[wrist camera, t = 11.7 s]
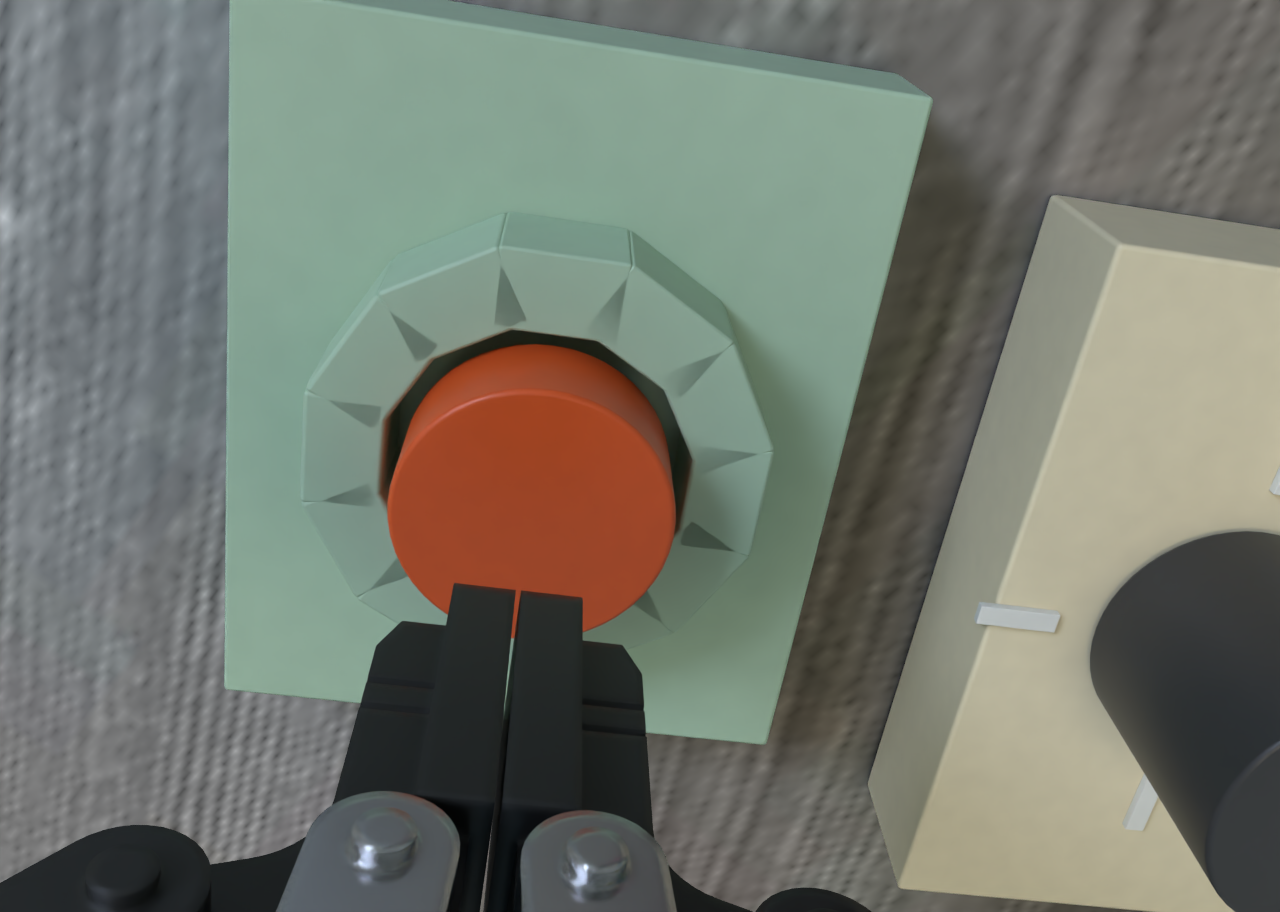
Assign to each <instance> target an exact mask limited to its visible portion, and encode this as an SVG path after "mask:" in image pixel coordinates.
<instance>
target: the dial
mask: <svg viewBox="0 0 1280 912" xmlns="http://www.w3.org/2000/svg"><path fill="white" fill-rule="evenodd" d="M1090 673H1091V678H1092V683H1093V686H1094V689H1095V691H1096V694H1097V696H1098V698H1099V699H1100V701H1101V703H1102V705H1103V706H1104V708H1105V710H1106V711H1107V713H1108V714H1109V716H1110V718H1111V719H1112V721H1113V723H1114V724H1115V726H1116V728H1117V729H1118V731H1119V733H1120V734H1121V736H1122V738H1123V739H1124V741H1125V743H1126V744H1127V746H1128V747H1129V749H1130V751H1131V752H1132V754H1133V756H1134V757H1135V759H1136V761H1137V762H1138V764H1139V766H1140V767H1141V769H1142V771H1143V772H1144V774H1145V776H1146V777H1147V779H1148V780H1149V782H1150V784H1151V785H1152V787H1153V789H1154V790H1155V792H1156V794H1157V795H1158V797H1159V799H1160V800H1161V802H1162V804H1163V805H1164V807H1165V808H1166V810H1167V812H1168V813H1169V815H1170V817H1171V818H1172V820H1173V822H1174V823H1175V825H1176V827H1177V828H1178V830H1179V832H1180V833H1181V835H1182V837H1183V838H1184V840H1185V841H1186V843H1187V845H1188V846H1189V848H1190V850H1191V851H1192V853H1193V855H1194V856H1195V858H1196V860H1197V861H1198V863H1199V865H1200V866H1201V868H1202V870H1203V871H1204V873H1205V874H1206V876H1207V878H1208V879H1209V881H1210V883H1211V884H1212V886H1213V888H1214V889H1215V891H1216V893H1217V894H1218V895H1219V897H1220V898H1221V899H1222V900H1223V901H1224V902H1225V904H1226V905H1227V906H1229V907H1230V908H1231V909H1232V910H1234V911H1235V912H1280V535H1276V534H1270V533H1265V532H1252V531H1241V532H1227V533H1222V534H1216V535H1211V536H1207V537H1203V538H1200V539H1196V540H1193V541H1191V542H1188V543H1186V544H1183V545H1181V546H1178V547H1176V548H1174V549H1172V550H1170V551H1168V552H1166V553H1164V554H1162V555H1161V556H1159V557H1158V558H1156V559H1155V560H1153V561H1151V562H1150V563H1148V564H1147V565H1146V566H1144V567H1143V568H1142V569H1141V570H1139V571H1138V572H1137V573H1136V574H1134V575H1133V576H1132V577H1131V578H1130V579H1129V580H1128V581H1127V582H1126V583H1125V584H1124V585H1123V586H1122V587H1121V588H1120V589H1119V591H1118V592H1117V593H1116V594H1115V596H1114V597H1113V598H1112V599H1111V601H1110V602H1109V604H1108V606H1107V607H1106V609H1105V610H1104V612H1103V614H1102V616H1101V618H1100V620H1099V622H1098V624H1097V627H1096V630H1095V633H1094V636H1093V640H1092V645H1091V652H1090Z"/></svg>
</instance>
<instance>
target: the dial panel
mask: <svg viewBox="0 0 1280 912" xmlns="http://www.w3.org/2000/svg"><path fill="white" fill-rule="evenodd" d="M1241 531H1252V532H1265V533H1270V534H1276V535H1280V229H1273V228H1267V227H1261V226H1254V225H1248V224H1241V223H1235V222H1228V221H1222V220H1215V219H1209V218H1202V217H1196V216H1189V215H1183V214H1176V213H1170V212H1164V211H1157V210H1151V209H1144V208H1138V207H1131V206H1125V205H1118V204H1112V203H1105V202H1099V201H1092V200H1086V199H1079V198H1073V197H1067V196H1060V195H1054V196H1052V197H1051V198H1050V200H1049V203H1048V207H1047V210H1046V213H1045V216H1044V219H1043V223H1042V226H1041V229H1040V232H1039V235H1038V239H1037V242H1036V245H1035V248H1034V251H1033V255H1032V258H1031V261H1030V264H1029V267H1028V271H1027V274H1026V277H1025V280H1024V284H1023V287H1022V290H1021V293H1020V296H1019V300H1018V303H1017V306H1016V309H1015V312H1014V316H1013V319H1012V322H1011V325H1010V328H1009V332H1008V335H1007V338H1006V341H1005V344H1004V348H1003V351H1002V354H1001V357H1000V360H999V364H998V367H997V370H996V373H995V376H994V380H993V383H992V386H991V389H990V392H989V396H988V399H987V402H986V405H985V408H984V412H983V415H982V418H981V421H980V424H979V428H978V431H977V434H976V437H975V441H974V444H973V447H972V450H971V453H970V457H969V460H968V463H967V466H966V469H965V473H964V476H963V479H962V482H961V485H960V489H959V492H958V495H957V498H956V501H955V505H954V508H953V511H952V514H951V517H950V521H949V524H948V527H947V530H946V533H945V537H944V540H943V543H942V546H941V549H940V553H939V556H938V559H937V562H936V565H935V569H934V572H933V575H932V578H931V582H930V585H929V588H928V591H927V594H926V598H925V601H924V604H923V607H922V610H921V614H920V617H919V620H918V623H917V626H916V630H915V633H914V636H913V639H912V642H911V646H910V649H909V652H908V655H907V658H906V662H905V665H904V668H903V671H902V674H901V678H900V681H899V684H898V687H897V690H896V694H895V697H894V700H893V703H892V706H891V710H890V713H889V716H888V719H887V722H886V726H885V729H884V732H883V735H882V739H881V742H880V745H879V748H878V751H877V755H876V758H875V761H874V764H873V767H872V771H871V774H870V777H869V780H868V788H869V791H870V794H871V798H872V801H873V804H874V808H875V811H876V814H877V818H878V821H879V824H880V828H881V831H882V834H883V838H884V841H885V844H886V848H887V851H888V854H889V858H890V861H891V864H892V868H893V871H894V875H895V878H896V881H897V885H898V887H899V888H901V889H909V890H919V891H930V892H941V893H952V894H963V895H974V896H985V897H996V898H1007V899H1018V900H1029V901H1040V902H1051V903H1062V904H1073V905H1084V906H1095V907H1106V908H1117V909H1128V910H1139V911H1149V912H1235V911H1234V910H1232V909H1231V908H1230V907H1229V906H1227V905H1226V904H1225V902H1224V901H1223V900H1222V899H1221V898H1220V897H1219V895H1218V894H1217V893H1216V891H1215V889H1214V888H1213V886H1212V884H1211V883H1210V881H1209V879H1208V878H1207V876H1206V874H1205V873H1204V871H1203V870H1202V868H1201V866H1200V865H1199V863H1198V861H1197V860H1196V858H1195V856H1194V855H1193V853H1192V851H1191V850H1190V848H1189V846H1188V845H1187V843H1186V841H1185V840H1184V838H1183V837H1182V835H1181V833H1180V832H1179V830H1178V828H1177V827H1176V825H1175V823H1174V822H1173V820H1172V818H1171V817H1170V815H1169V813H1168V812H1167V810H1166V808H1165V807H1164V805H1163V804H1162V802H1161V800H1160V799H1159V797H1158V795H1157V794H1156V792H1155V790H1154V789H1153V787H1152V785H1151V784H1150V782H1149V780H1148V779H1147V777H1146V776H1145V774H1144V772H1143V771H1142V769H1141V767H1140V766H1139V764H1138V762H1137V761H1136V759H1135V757H1134V756H1133V754H1132V752H1131V751H1130V749H1129V747H1128V746H1127V744H1126V743H1125V741H1124V739H1123V738H1122V736H1121V734H1120V733H1119V731H1118V729H1117V728H1116V726H1115V724H1114V723H1113V721H1112V719H1111V718H1110V716H1109V714H1108V713H1107V711H1106V710H1105V708H1104V706H1103V705H1102V703H1101V701H1100V699H1099V698H1098V696H1097V694H1096V691H1095V689H1094V686H1093V683H1092V678H1091V673H1090V652H1091V645H1092V640H1093V636H1094V633H1095V630H1096V627H1097V624H1098V622H1099V620H1100V618H1101V616H1102V614H1103V612H1104V610H1105V609H1106V607H1107V606H1108V604H1109V602H1110V601H1111V599H1112V598H1113V597H1114V596H1115V594H1116V593H1117V592H1118V591H1119V589H1120V588H1121V587H1122V586H1123V585H1124V584H1125V583H1126V582H1127V581H1128V580H1129V579H1130V578H1131V577H1132V576H1133V575H1134V574H1136V573H1137V572H1138V571H1139V570H1141V569H1142V568H1143V567H1144V566H1146V565H1147V564H1148V563H1150V562H1151V561H1153V560H1155V559H1156V558H1158V557H1159V556H1161V555H1162V554H1164V553H1166V552H1168V551H1170V550H1172V549H1174V548H1176V547H1178V546H1181V545H1183V544H1186V543H1188V542H1191V541H1193V540H1196V539H1200V538H1203V537H1207V536H1211V535H1216V534H1222V533H1227V532H1241Z"/></svg>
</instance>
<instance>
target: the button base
mask: <svg viewBox="0 0 1280 912" xmlns="http://www.w3.org/2000/svg"><path fill="white" fill-rule="evenodd" d="M932 104H933V99H932V98H931V97H930V96H928V95H927V94H926V93H924V92H923V91H921V90H920V89H918V88H917V87H915V86H914V85H913V84H911V83H910V82H908V81H907V80H905V79H904V78H902V77H901V76H900V75H898V74H896V73H890V72H883V71H877V70H871V69H865V68H859V67H853V66H847V65H841V64H834V63H828V62H822V61H816V60H810V59H804V58H798V57H792V56H785V55H779V54H773V53H767V52H761V51H755V50H749V49H743V48H736V47H730V46H724V45H718V44H712V43H706V42H700V41H693V40H687V39H681V38H675V37H669V36H663V35H657V34H651V33H644V32H638V31H632V30H626V29H620V28H614V27H608V26H602V25H595V24H589V23H583V22H577V21H571V20H565V19H559V18H553V17H546V16H540V15H534V14H528V13H522V12H516V11H510V10H504V9H497V8H491V7H485V6H479V5H473V4H467V3H461V2H455V1H448V0H230V17H229V148H228V280H227V411H226V542H225V673H224V685H225V688H226V689H227V690H235V691H245V692H255V693H264V694H274V695H284V696H294V697H303V698H313V699H323V700H333V701H342V702H352V703H361V699H362V696H363V692H364V688H365V685H366V682H367V679H368V674H369V670H370V666H371V663H372V659H373V655H374V652H375V648H376V645H377V644H378V643H379V642H380V641H381V640H382V639H383V638H384V637H386V636H387V635H388V634H389V633H390V632H391V631H392V630H393V629H394V628H395V627H396V626H397V625H398V624H399V623H400V622H401V621H409V622H418V623H427V624H437V625H446V622H447V617H448V615H447V614H446V613H444V612H443V611H441V610H440V609H439V608H437V607H436V606H435V605H434V604H432V603H431V602H430V601H429V600H428V599H427V598H426V597H425V596H424V595H423V594H422V593H421V592H420V591H419V590H418V589H417V587H416V586H415V585H414V584H413V583H412V581H411V580H410V578H409V577H408V575H407V574H406V572H405V571H404V569H403V567H402V566H401V564H400V561H399V559H398V557H397V555H396V553H395V551H394V547H393V544H392V541H391V538H390V533H389V527H388V520H387V501H388V495H389V488H390V484H391V481H392V478H393V474H394V471H395V468H396V465H397V462H398V459H399V456H400V453H401V450H402V446H403V443H404V440H405V437H406V434H407V431H408V428H409V425H410V422H411V419H412V417H413V415H414V413H415V411H416V409H417V407H418V406H419V404H420V403H421V401H422V400H423V398H424V397H425V395H426V394H427V392H428V391H429V390H430V389H431V388H432V387H433V386H434V385H435V384H436V383H437V382H438V381H439V380H440V379H441V378H442V377H443V376H445V375H446V374H447V373H448V372H449V371H451V370H452V369H454V368H455V367H457V366H458V365H460V364H462V363H463V362H465V361H467V360H469V359H471V358H473V357H475V356H478V355H480V354H482V353H485V352H488V351H492V350H495V349H498V348H503V347H509V346H514V345H527V344H541V345H554V346H559V347H564V348H569V349H573V350H576V351H579V352H582V353H585V354H588V355H591V356H593V357H595V358H597V359H599V360H601V361H603V362H605V363H607V364H609V365H610V366H612V367H613V368H615V369H616V370H618V371H619V372H621V373H622V374H623V375H624V376H626V377H627V378H628V379H629V380H630V381H631V382H633V383H634V384H635V385H636V387H637V388H638V389H639V390H640V391H641V392H642V393H643V394H644V395H645V397H646V398H647V400H648V401H649V403H650V404H651V405H652V407H653V408H654V410H655V412H656V414H657V416H658V418H659V420H660V422H661V424H662V427H663V430H664V433H665V436H666V440H667V446H668V451H669V458H670V466H671V473H672V481H673V489H674V496H675V504H676V525H675V533H674V539H673V542H672V546H671V550H670V553H669V555H668V558H667V560H666V562H665V564H664V567H663V569H662V570H661V572H660V573H659V575H658V577H657V578H656V580H655V581H654V583H653V584H652V585H651V586H650V588H649V589H648V590H647V591H646V592H645V594H644V595H643V596H642V597H641V598H640V599H639V600H638V601H636V602H635V603H634V604H633V605H632V606H631V607H630V608H628V609H627V610H626V611H624V612H623V613H621V614H620V615H619V616H617V617H616V618H614V619H612V620H610V621H608V622H607V623H605V624H603V625H601V626H598V627H596V628H593V629H591V630H588V631H586V632H583V641H592V642H601V643H610V644H619V645H623V646H624V648H625V649H626V651H627V652H628V654H629V655H630V657H631V658H632V660H633V661H634V663H635V664H636V666H637V667H638V669H639V670H640V672H641V673H642V680H643V694H644V711H645V723H646V733H654V734H663V735H673V736H683V737H693V738H702V739H712V740H722V741H732V742H741V743H751V744H761V745H764V744H766V743H767V740H768V736H769V732H770V728H771V724H772V721H773V717H774V713H775V709H776V705H777V701H778V697H779V694H780V690H781V686H782V682H783V678H784V674H785V670H786V667H787V663H788V659H789V655H790V651H791V647H792V643H793V640H794V636H795V632H796V628H797V624H798V620H799V616H800V613H801V609H802V605H803V601H804V597H805V593H806V590H807V586H808V582H809V578H810V574H811V570H812V566H813V563H814V559H815V555H816V551H817V547H818V543H819V539H820V536H821V532H822V528H823V524H824V520H825V516H826V512H827V509H828V505H829V501H830V497H831V493H832V489H833V485H834V482H835V478H836V474H837V470H838V466H839V462H840V458H841V455H842V451H843V447H844V443H845V439H846V435H847V431H848V428H849V424H850V420H851V416H852V412H853V408H854V405H855V401H856V397H857V393H858V389H859V385H860V381H861V378H862V374H863V370H864V366H865V362H866V358H867V354H868V351H869V347H870V343H871V339H872V335H873V331H874V327H875V324H876V320H877V316H878V312H879V308H880V304H881V300H882V297H883V293H884V289H885V285H886V281H887V277H888V273H889V270H890V266H891V262H892V258H893V254H894V250H895V246H896V243H897V239H898V235H899V231H900V227H901V223H902V219H903V216H904V212H905V208H906V204H907V200H908V196H909V193H910V189H911V185H912V181H913V177H914V173H915V169H916V166H917V162H918V158H919V154H920V150H921V146H922V142H923V139H924V135H925V131H926V127H927V123H928V119H929V115H930V112H931V108H932ZM513 643H514V639H513V638H511V644H510V654H509V664H508V674H507V685H506V693H507V686H508V679H509V671H510V664H511V657H512V650H513ZM505 700H506V695H505ZM504 708H505V705H504ZM503 716H504V715H503Z"/></svg>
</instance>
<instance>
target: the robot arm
mask: <svg viewBox="0 0 1280 912" xmlns="http://www.w3.org/2000/svg"><path fill="white" fill-rule="evenodd" d="M515 593H516V590H512V589H503V588H495V587H486V586H477V585H468V584H460V583H454V585H453V590H452V596H451V601H450V606H449V612H448V617H447V622H446V625H437V624H427V623H418V622H409V621H401V622H400V623H399V624H398V625H397V626H396V627H395V628H394V629H393V630H392V631H391V632H390V633H389V634H388V635H387V636H386V637H384V638H383V639H382V640H381V641H380V642H379V643H378V644H377V645H376V648H375V652H374V655H373V659H372V663H371V666H370V670H369V674H368V679H367V682H366V685H365V688H364V692H363V696H362V699H361V705H360V708H359V710H358V714H357V718H356V722H355V725H354V729H353V733H352V736H351V740H350V744H349V747H348V751H347V755H346V758H345V762H344V766H343V769H342V773H341V777H340V780H339V784H338V788H337V791H336V795H335V799H334V802H333V804H332V806H330V807H329V808H327V809H326V810H325V811H324V812H323V813H321V814H320V815H319V816H318V817H317V819H316V820H315V821H314V822H313V824H312V825H311V827H310V829H309V831H308V833H307V835H306V837H305V838H303V839H301V840H300V841H298V842H296V843H295V844H293V845H291V846H289V847H286V848H284V849H282V850H280V851H277V852H274V853H270V854H267V855H263V856H259V857H254V858H249V859H243V860H237V861H230V862H224V863H218V864H212V865H210V863H209V860H208V858H207V856H206V854H205V853H204V851H203V849H202V848H201V847H200V846H199V845H198V844H197V843H196V842H195V841H193V840H192V839H190V838H189V837H187V836H186V835H183V834H181V833H179V832H177V831H174V830H171V829H167V828H164V827H158V826H150V825H130V826H121V827H115V828H111V829H107V830H103V831H100V832H97V833H94V834H91V835H88V836H86V837H84V838H82V839H80V840H78V841H76V842H74V843H72V844H70V845H68V846H67V847H65V848H63V849H61V850H59V851H58V852H56V853H54V854H52V855H50V856H48V857H47V858H45V859H43V860H41V861H39V862H38V863H36V864H34V865H32V866H30V867H28V868H27V869H25V870H23V871H21V872H19V873H18V874H16V875H14V876H12V877H10V878H8V879H7V880H5V881H3V882H1V883H0V912H480V905H481V898H482V890H483V883H484V876H485V869H486V862H487V855H488V848H489V841H490V850H489V860H488V871H487V881H486V891H485V901H484V911H483V912H752V911H750V910H747V909H744V908H741V907H739V906H736V905H733V904H730V903H727V902H725V901H722V900H719V899H717V898H714V897H712V896H710V895H707V894H705V893H703V892H702V891H700V890H698V889H696V888H694V887H693V886H691V885H690V884H689V883H687V882H686V881H684V880H683V879H682V878H681V877H680V876H679V875H677V874H676V873H675V872H674V871H673V870H672V869H671V867H670V866H669V865H668V862H667V859H666V856H665V854H664V852H663V850H662V848H661V847H660V845H659V844H658V843H657V841H656V840H655V839H654V833H653V824H652V810H651V795H650V781H649V766H648V752H647V738H646V737H645V734H646V723H645V711H644V694H643V680H642V673H641V672H640V670H639V669H638V667H637V666H636V664H635V663H634V661H633V660H632V658H631V657H630V655H629V654H628V652H627V651H626V649H625V648H624V646H623V645H619V644H610V643H601V642H592V641H583V599H582V597H575V596H566V595H558V594H549V593H540V592H531V591H523V590H521V594H520V600H519V607H518V614H517V621H516V628H515V635H514V643H513V650H512V657H511V664H510V671H509V679H508V686H507V693H506V685H507V674H508V664H509V654H510V644H511V634H512V624H513V614H514V604H515ZM505 695H506V700H505ZM504 705H505V708H504ZM503 715H504V716H503ZM492 819H493V820H492ZM491 826H492V830H491ZM490 834H491V840H490ZM756 912H871V911H870V910H868V909H867V908H866V907H864V906H863V905H861V904H859V903H858V902H856V901H854V900H852V899H850V898H848V897H846V896H843V895H841V894H838V893H835V892H832V891H828V890H823V889H817V888H795V889H789V890H785V891H781V892H779V893H777V894H775V895H773V896H771V897H769V898H768V899H767V900H765V901H764V902H763V903H762V904H761V905H760V906H759V908H758V909H757V910H756Z"/></svg>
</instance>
